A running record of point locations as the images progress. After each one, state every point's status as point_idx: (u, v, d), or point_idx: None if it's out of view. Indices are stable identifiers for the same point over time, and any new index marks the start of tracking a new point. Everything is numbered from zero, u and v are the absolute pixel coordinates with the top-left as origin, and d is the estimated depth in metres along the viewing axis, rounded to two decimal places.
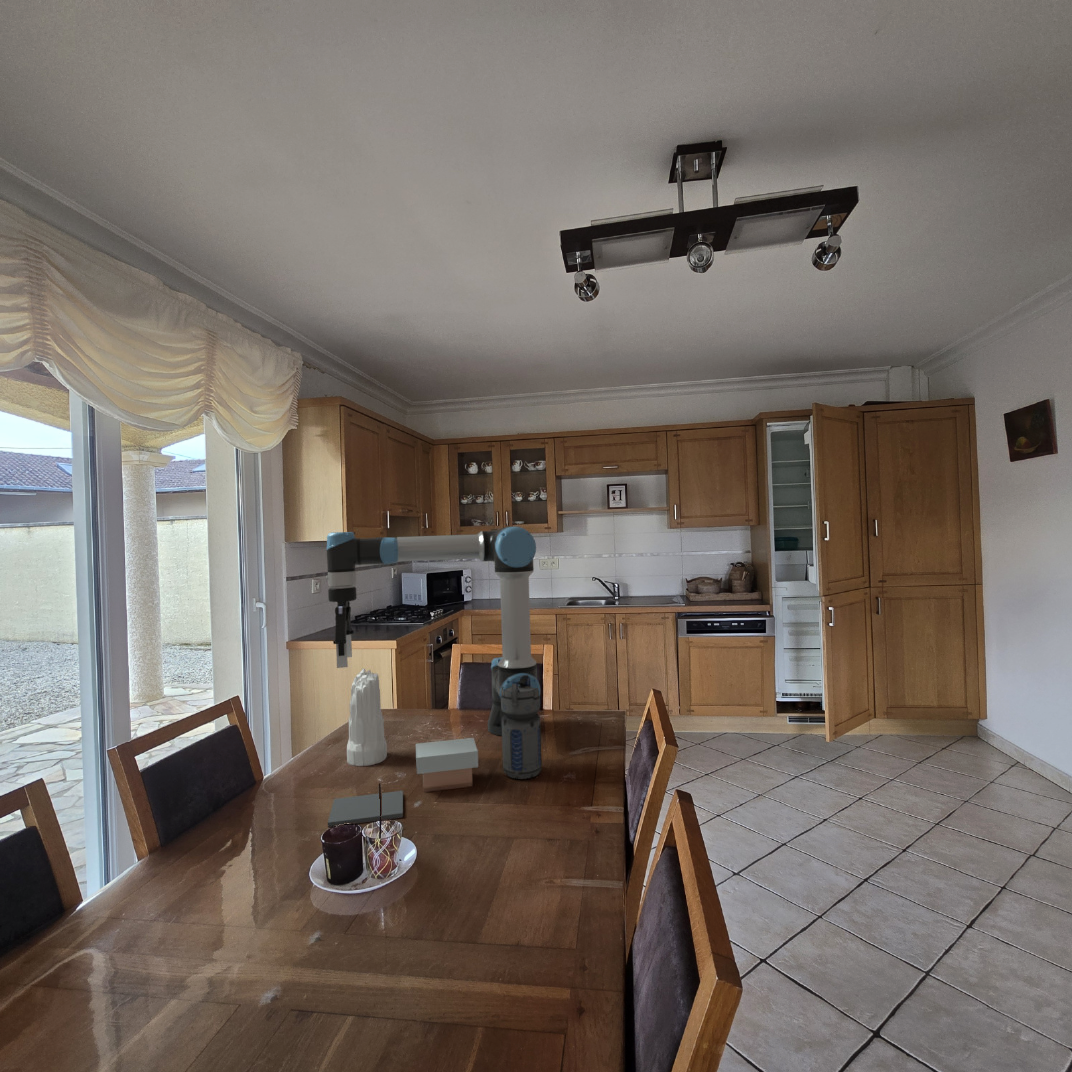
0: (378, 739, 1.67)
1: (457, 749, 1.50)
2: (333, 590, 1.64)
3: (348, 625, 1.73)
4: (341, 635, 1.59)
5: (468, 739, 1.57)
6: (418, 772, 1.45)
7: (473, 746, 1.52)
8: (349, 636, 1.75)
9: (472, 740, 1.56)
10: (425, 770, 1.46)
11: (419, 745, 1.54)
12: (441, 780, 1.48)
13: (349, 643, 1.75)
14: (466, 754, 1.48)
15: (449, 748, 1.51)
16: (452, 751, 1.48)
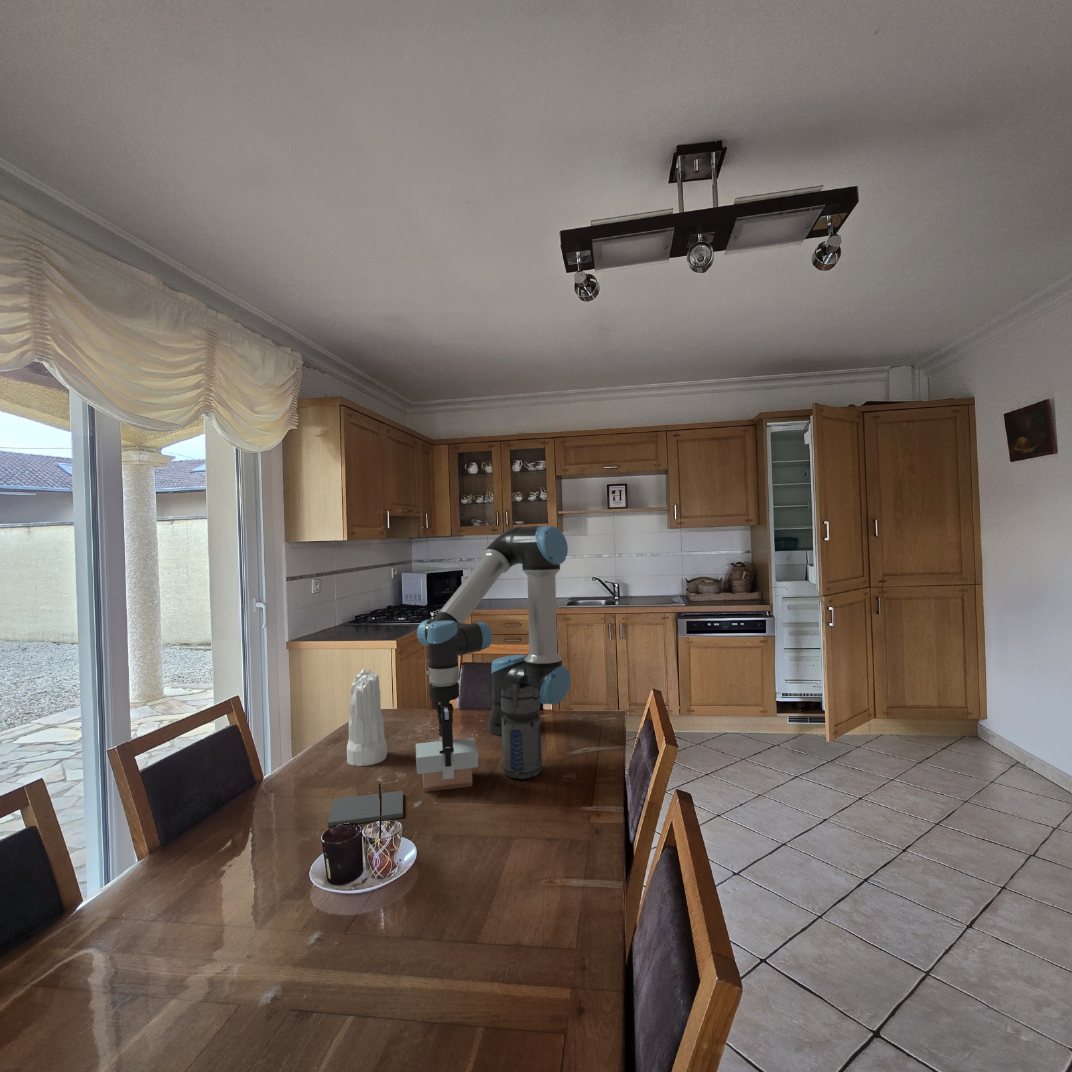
0: (378, 739, 1.67)
1: (457, 749, 1.50)
2: (436, 688, 1.48)
3: None
4: (449, 745, 1.44)
5: (468, 739, 1.57)
6: (418, 772, 1.45)
7: (473, 746, 1.52)
8: None
9: (472, 740, 1.56)
10: (425, 770, 1.46)
11: (419, 745, 1.54)
12: (441, 780, 1.48)
13: None
14: (466, 754, 1.48)
15: None
16: None
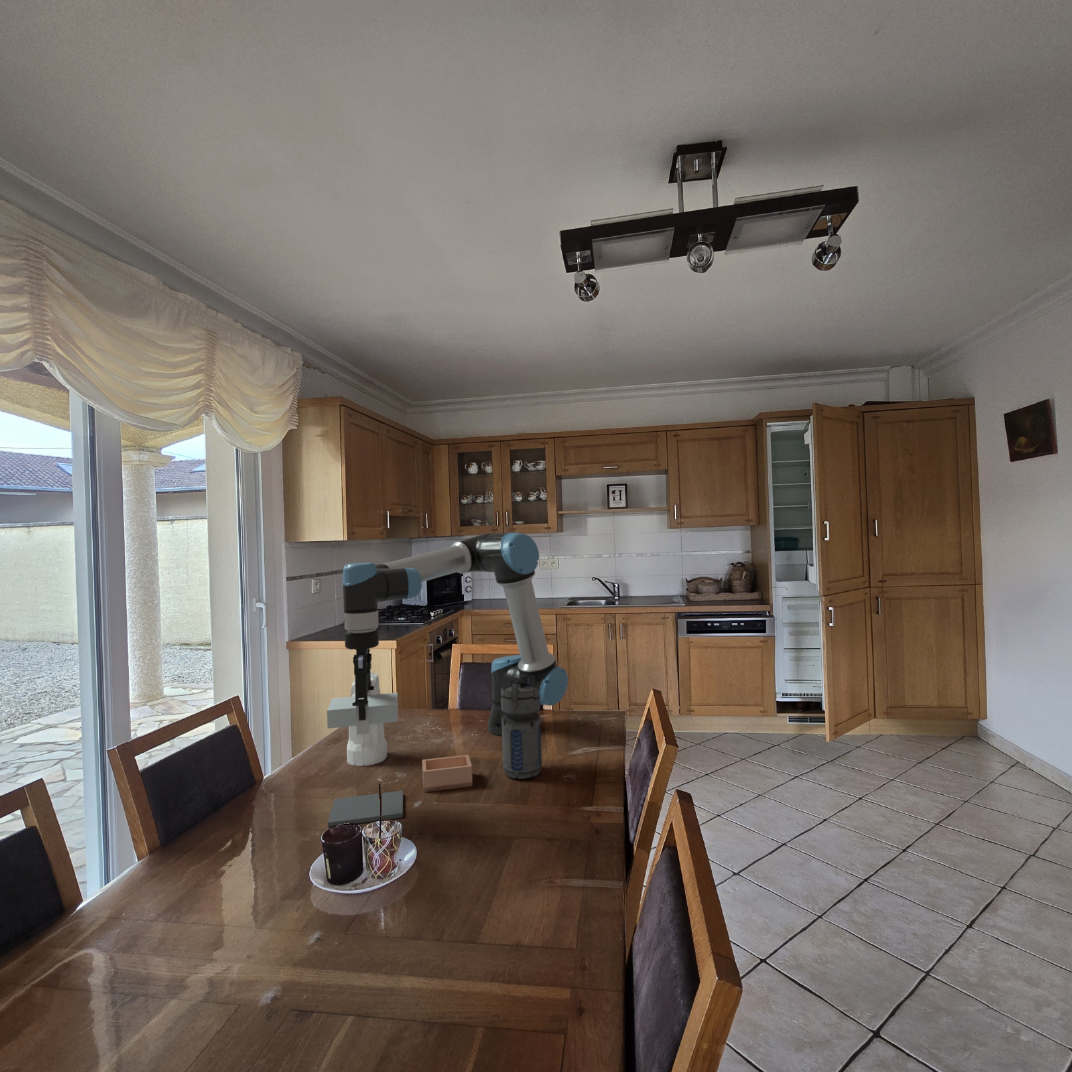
0: (378, 739, 1.67)
1: (375, 703, 1.36)
2: (351, 635, 1.34)
3: (368, 678, 1.42)
4: (362, 696, 1.30)
5: (391, 694, 1.43)
6: (329, 726, 1.31)
7: (394, 700, 1.38)
8: (369, 693, 1.43)
9: (395, 695, 1.42)
10: (337, 724, 1.32)
11: (335, 699, 1.40)
12: (441, 780, 1.48)
13: None
14: (384, 707, 1.34)
15: None
16: (369, 705, 1.34)
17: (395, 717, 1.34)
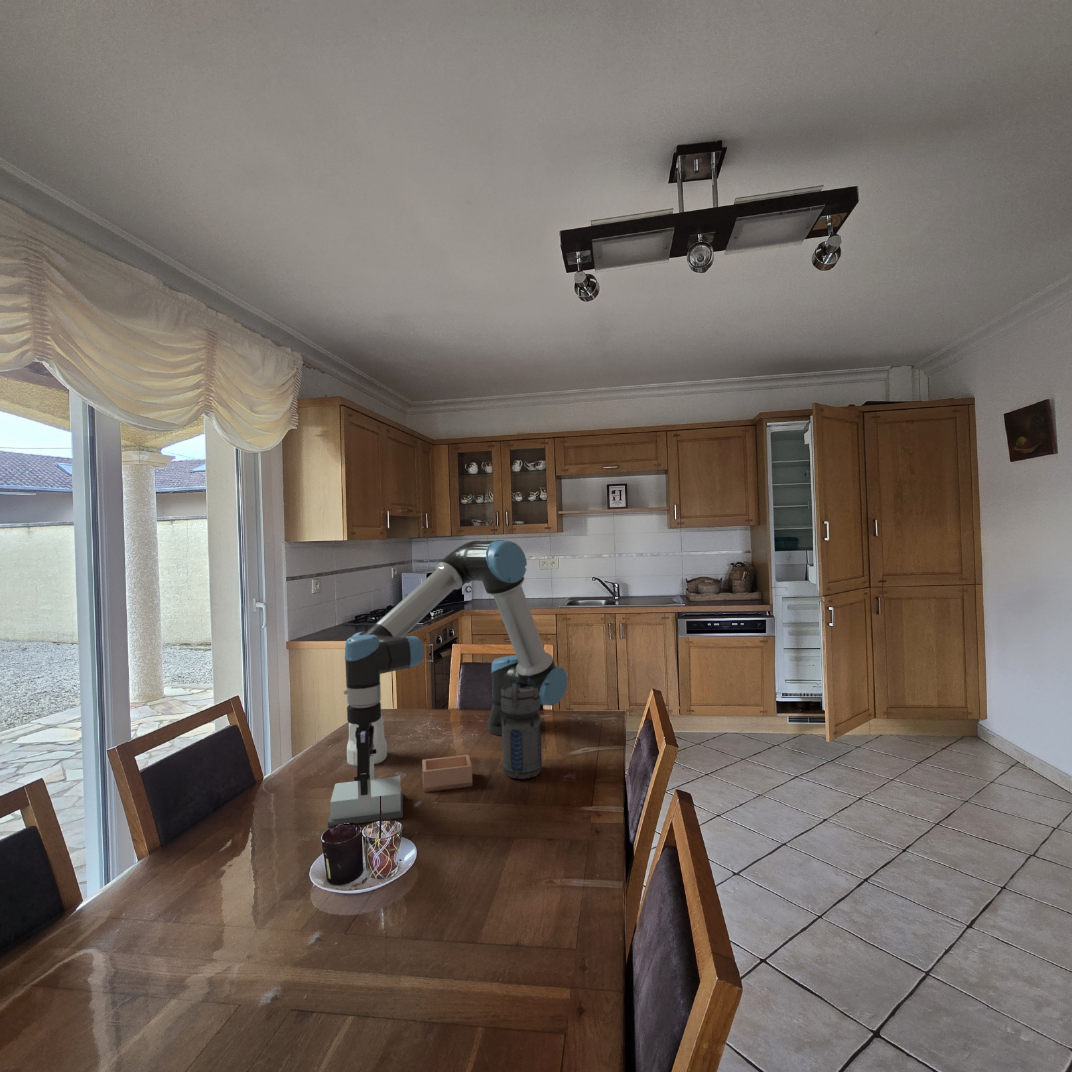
0: (378, 739, 1.67)
1: (378, 791, 1.36)
2: (353, 710, 1.34)
3: None
4: (364, 771, 1.29)
5: (394, 778, 1.43)
6: (332, 818, 1.32)
7: (397, 787, 1.38)
8: (371, 758, 1.44)
9: (398, 779, 1.42)
10: (340, 815, 1.32)
11: (338, 785, 1.40)
12: (441, 780, 1.48)
13: (371, 766, 1.44)
14: (387, 797, 1.34)
15: None
16: (372, 794, 1.35)
17: (398, 806, 1.35)
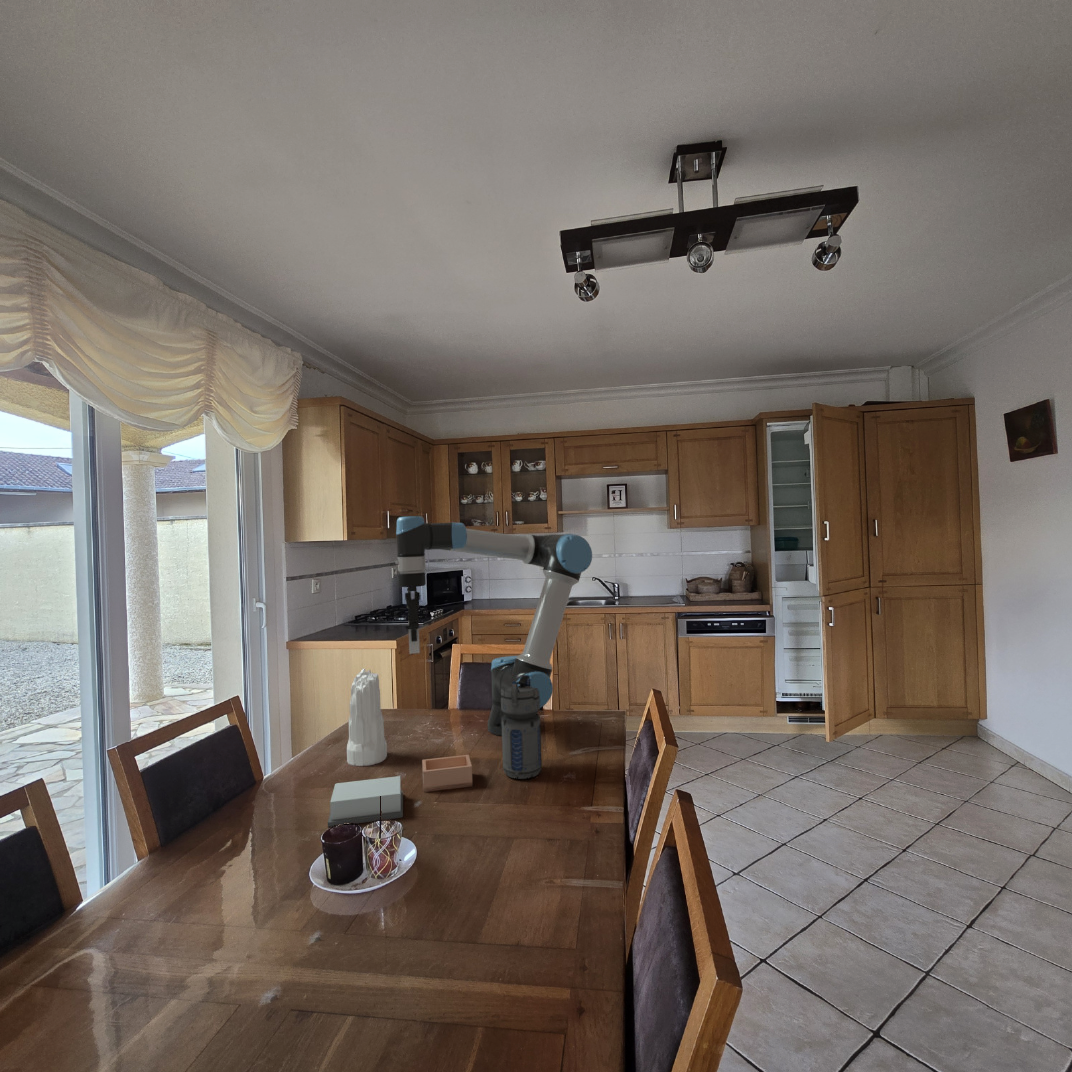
0: (378, 739, 1.67)
1: (378, 791, 1.36)
2: (404, 575, 1.62)
3: None
4: (414, 620, 1.56)
5: (394, 778, 1.43)
6: (332, 818, 1.32)
7: (397, 787, 1.38)
8: None
9: (398, 779, 1.42)
10: (340, 815, 1.32)
11: (338, 785, 1.40)
12: (441, 780, 1.48)
13: None
14: (387, 797, 1.34)
15: (369, 790, 1.37)
16: (372, 794, 1.35)
17: (398, 806, 1.35)
